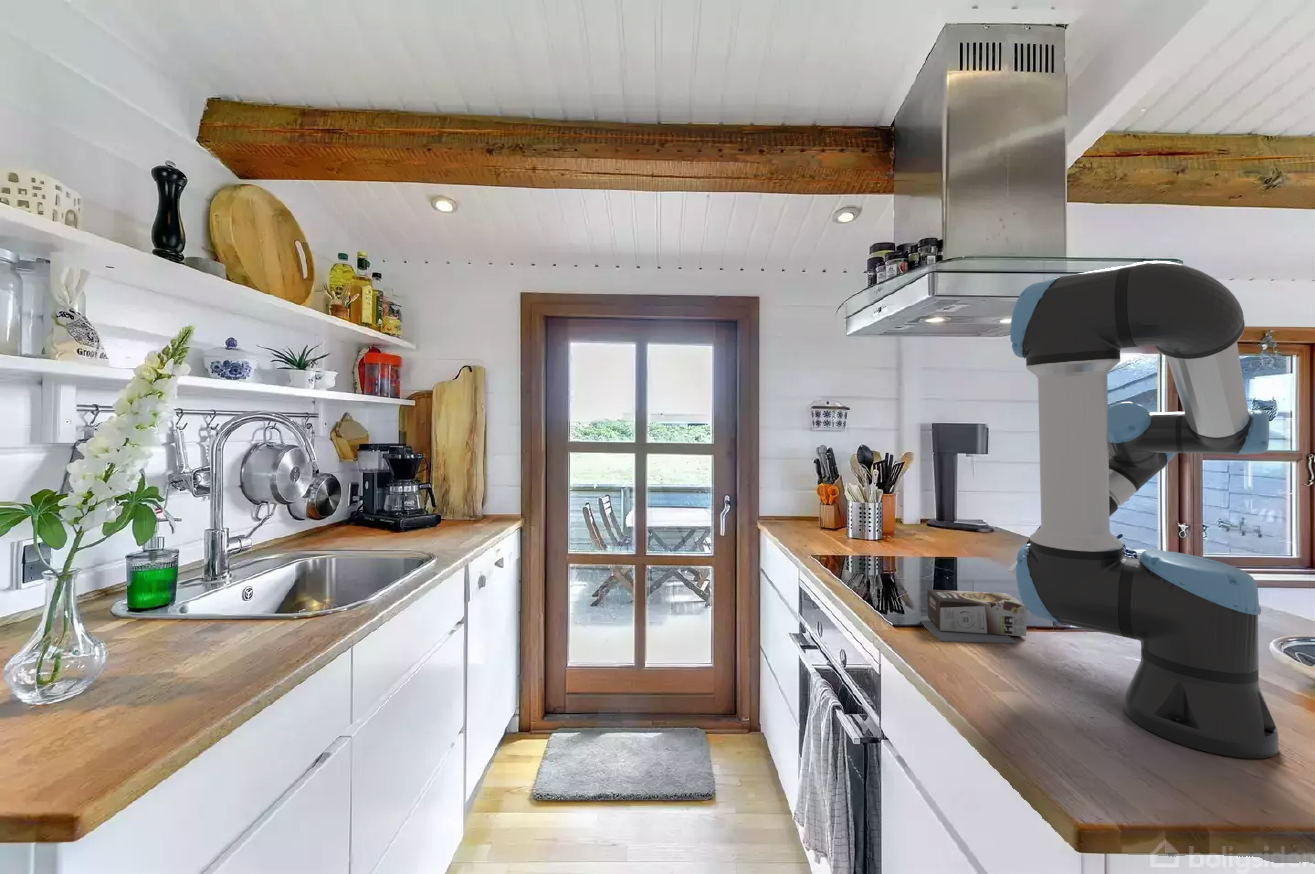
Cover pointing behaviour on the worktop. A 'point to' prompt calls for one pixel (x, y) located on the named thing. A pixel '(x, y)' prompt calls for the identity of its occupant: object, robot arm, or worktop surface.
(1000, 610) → the coffee box
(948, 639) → the mat
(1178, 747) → the worktop surface
